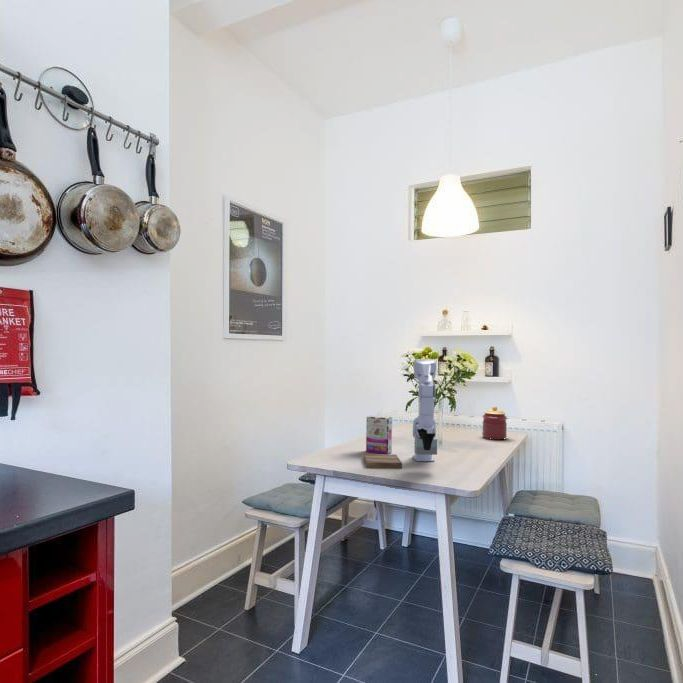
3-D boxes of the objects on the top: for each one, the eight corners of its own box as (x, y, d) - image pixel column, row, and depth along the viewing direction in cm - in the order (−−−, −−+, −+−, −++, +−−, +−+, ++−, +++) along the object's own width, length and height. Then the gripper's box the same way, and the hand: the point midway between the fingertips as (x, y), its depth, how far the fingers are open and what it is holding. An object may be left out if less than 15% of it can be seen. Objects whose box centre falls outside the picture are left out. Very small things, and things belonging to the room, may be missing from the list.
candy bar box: (392, 452, 225) (392, 417, 225) (387, 454, 221) (388, 418, 221) (369, 449, 230) (370, 415, 230) (365, 451, 226) (366, 416, 226)
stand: (363, 458, 211) (364, 454, 211) (396, 459, 212) (396, 454, 212) (367, 467, 195) (367, 462, 195) (402, 468, 196) (402, 463, 196)
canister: (479, 435, 276) (480, 404, 277) (502, 436, 276) (503, 405, 276) (485, 440, 264) (486, 407, 264) (509, 440, 263) (510, 408, 263)
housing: (414, 451, 196) (414, 435, 197) (434, 452, 197) (434, 435, 197) (416, 454, 191) (417, 437, 192) (436, 454, 192) (437, 437, 192)
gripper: (413, 411, 201) (412, 444, 201) (420, 416, 187) (419, 452, 187) (430, 412, 202) (429, 445, 201) (438, 417, 187) (437, 452, 187)
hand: (425, 448), depth 194 cm, fingers closed on housing, 5 cm apart
